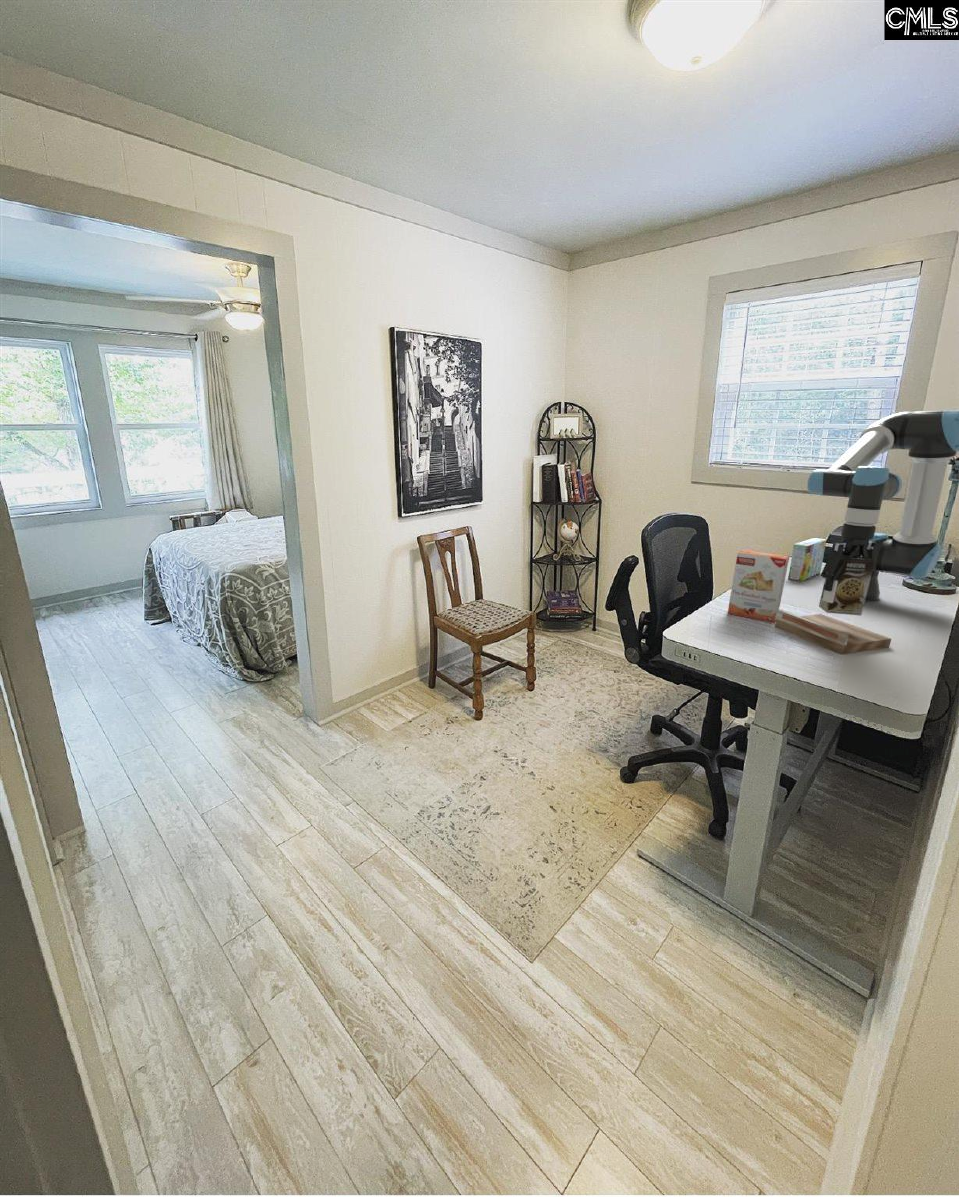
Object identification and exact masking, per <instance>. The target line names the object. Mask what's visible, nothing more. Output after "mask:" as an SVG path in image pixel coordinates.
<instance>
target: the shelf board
mask: <svg viewBox="0 0 959 1197" xmlns="http://www.w3.org/2000/svg"><path fill="white" fill-rule="evenodd" d="M774 623H775V625H774V628H776V629H779V630H781V631H784V632H786V633H788V634H790V635H793V636H796V637H799V638H800V639H803V640H806V641H809V642H810V643H813V644H815V645H818V646H820V647H822V648H824V649H825V648H826V649H827V650H830V651H833V652H835V653H837V654H839V655H847V654H850V653H858V652H863V651H871V650H878V649H885V648H890V646H891V642H892V638H891V637H888V636H886V635H882V634H879V633H876V632H873V631H871V630H868V629H865V628H862V627H859V626H856V625H853V624H851V623H848V622H845V621H842V620H839V619H837V618H834V617H831V616H827V615H825V614H822V613H818V614H817V613H816V614H811V615H809V614H808V615H801V616H799V615H796V614H794V613H792V612H788V611H786V610H783V609H779V610H778V612H777V618H776V620H775V622H774Z"/></svg>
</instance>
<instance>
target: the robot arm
mask: <svg viewBox="0 0 959 1197" xmlns="http://www.w3.org/2000/svg"><path fill="white" fill-rule="evenodd" d="M890 450H908V455H907V457H908V458H909V459H911V460H912V465H911V469H910V470H911V471H910V476H909V481H908V487H907V492H906V496H905V502H904V507H903V511H902V512H903V513H902V516H901V517H902V518H901V523H900V527H899V531H897V533H895V534H894V535H893V536H892V538H889V535H888V533H882V532H881V533H880V532H876V530H877V527H876V525H877V524H878V522H879V516H880V513H881V507H882V503H883V501H886V500H889V499H892V498H895V496H897V495H898V494H899V493H900V492H901V490H902V487H903V481H902V479H901V477H900V476H899V475H898V474H896V473H893V472H890V469H889V468H888V467H887V466H876V465H875V466H873V465H870V464H871V463H872V462H873V461H874V460H876V458H878V456H880V455H882V454H885V453H886V452H888V451H890ZM957 452H959V410H948V409H947V410H925V411H923V410H921V411H919V410H918V411H902V412H898V413H893V414H891V415H889V416H886V417H883V418H881V419H879V420H877V421H875V422H874V423H872V424H871V425H869V426H868V427H866V429H864V430H863V431H862V433H861V434H860V436H859V439H858V440H857V442H855V443H854V444H853V445H852V446H850V448H849V449H848V450H847V451H845V453H843V454H842V455H841V456H840V457H839V458H838V459H837V460H836V461H835V462H834V463H833V464H832V465H831V466H830V467H828V468H827V469H825V468H822V469H814V470H813V471H811V473H810V474H809V477H808V479H807V487H806V488H807V491H808V493H809V494H812V495H818V496H822V497H823V496H826V497H836V498H837V497H838V498H848V502H847V505H846V506H847V508H846V512H845V516H844V520H843V521H844V522H845V523H843V525H842V527H841V532H840V536H841V537H843V540H842V542H841V543H837V542H834V543H832V547H831V551H830V554H829V556H828V559H827V560H826V563H825V565H824V567H823V569H822V570H821V573H820V577H822V578H824V579H825V578H826V583H825V587H824V590H825V591H824V596H823V601H826V602H829V603H833V601H834V596H835V592H836V587H837V583H838V581H837V580H836V578H837V577H838V575H839V574H840V572H841V571H842V569H843V565H844V562H843V563H842V564H841V565H840V566H838V562H839V560H840V558H845V559H852V558H854V557H861V558H869V559H872V560H874V561H875V563H874V567H873V571H872V575H871V579H870V583H869V587H868V591H867V595H866V599H865V602H867V601H878V600H879V598H880V595H881V592H880V583H879V573H880V572H884V573H889V574H894V575H900V576H906V577H909V578H911V577H912V578H918V579H919V578H920V579H923V578H926V577H928V576H929V575H930V574H931V573H932V571H933V570H934V568H935V566H936V565H937V563H938V561H939V558H940V557H941V553H942V548H943V547H942V546H941V545H940V544H937V540H938V539H937V538H938V537H936V536H935V535H934V534H933V532H934V526H935V522H936V518H937V517H936V516H937V513H938V510H939V509H938V508H939V505H940V504H939V503H940V499H941V494H942V489H943V486H944V482H945V477H946V472H947V468H948V463H949V461H950V460H951V459H953V458H954V457H956V455H957ZM869 465H870V466H869ZM826 573H827V574H826ZM832 575H833V576H832Z"/></svg>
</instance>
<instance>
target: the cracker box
mask: <svg viewBox="0 0 959 1197" xmlns="http://www.w3.org/2000/svg"><path fill="white" fill-rule="evenodd" d="M789 561H790V555H783V554H777V553H767V552H760V551H753V550H746V549H741V550H740V551H738V552H737V556H736V560H735V562H736V563H735V566H734V572H733V578H732V585H731V591H730V596H729V603H728V609H727V614H730V615H734V616H738V617H739V616H740V617H745V618H750V619H755V620H759V621H764V622H769V623H776V618H777V612H778V610H780V607H781V601H782V597H783V593H784V588H785V587H784V585H785V581H786V577H787V571H788V567H789V566H788V565H789Z"/></svg>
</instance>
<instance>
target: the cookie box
mask: <svg viewBox="0 0 959 1197" xmlns="http://www.w3.org/2000/svg"><path fill="white" fill-rule="evenodd" d="M843 562H844V565H843V569H842V571H841V572H840V574H839V575H838V577H837V578H836V580H837V581H838V583H837V587H836V592H835V596H834V601H833V603H829V602H826V601H823V596H824V591H825V590H824V587H825V583H826V578H824V583H823V588H822V590H821V595H820V600H819V603H818V607H819V608H820V609H821V610H822V611H824V612H825V613H827V614H836V615H837V614H838V615H851V616H862V614H863V612H864V611H863V610H864V607H865V602H866V601H865V599H866V595H867V591H868V587H869V583H870V579H871V575H872V571H873V567H874V563H875V561H874V560H872V559H869V558H861V557H854V558H852V559H845V558H840V560H839V562H838V566H840V565H841V564H842V563H843ZM826 574H827V573H826ZM832 576H833V575H832Z"/></svg>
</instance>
